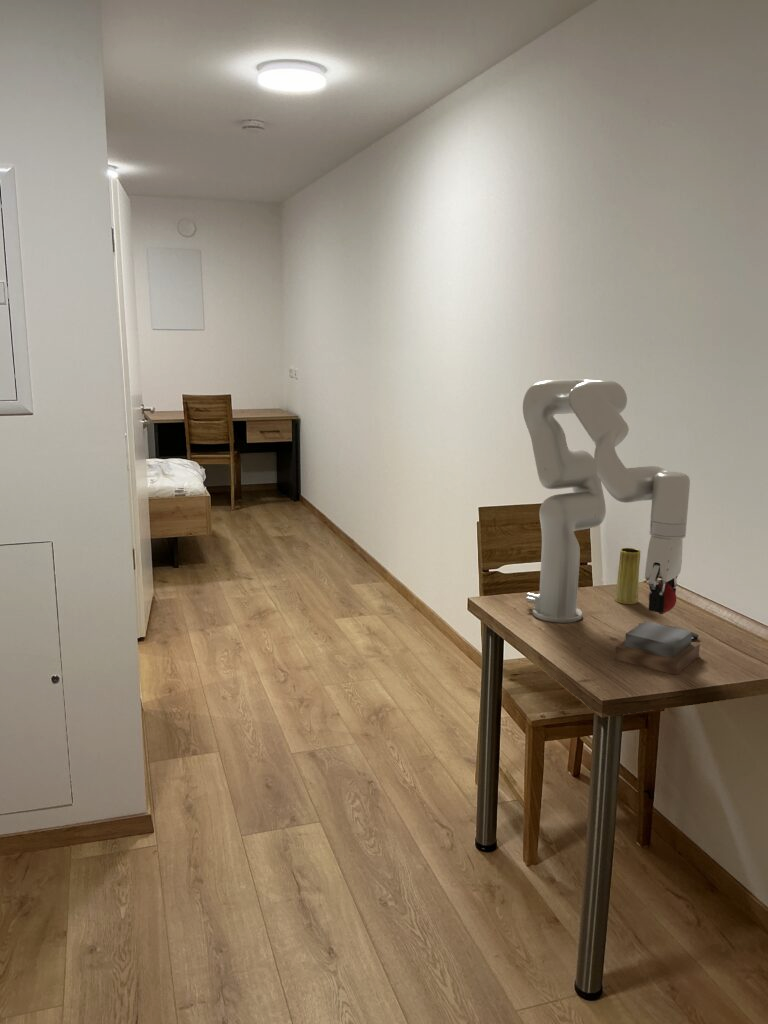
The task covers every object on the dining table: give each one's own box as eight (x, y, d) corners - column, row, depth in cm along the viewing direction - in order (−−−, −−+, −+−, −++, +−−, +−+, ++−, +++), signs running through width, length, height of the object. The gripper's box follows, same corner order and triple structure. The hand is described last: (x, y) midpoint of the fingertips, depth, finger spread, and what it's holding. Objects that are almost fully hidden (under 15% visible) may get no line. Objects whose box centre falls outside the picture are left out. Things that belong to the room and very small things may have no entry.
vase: (642, 603, 235) (646, 552, 232) (621, 605, 233) (625, 553, 230) (631, 597, 241) (634, 546, 238) (610, 598, 239) (614, 547, 236)
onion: (667, 609, 198) (670, 575, 196) (679, 617, 192) (682, 582, 190) (643, 610, 197) (645, 576, 195) (654, 618, 191) (657, 583, 190)
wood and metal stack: (614, 659, 196) (616, 633, 194) (639, 642, 206) (641, 617, 205) (676, 675, 187) (678, 648, 186) (698, 656, 198) (701, 631, 197)
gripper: (665, 519, 199) (659, 595, 203) (635, 533, 186) (630, 614, 190) (698, 524, 195) (691, 602, 199) (670, 538, 181) (663, 621, 185)
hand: (661, 607), depth 194 cm, fingers closed on onion, 5 cm apart
